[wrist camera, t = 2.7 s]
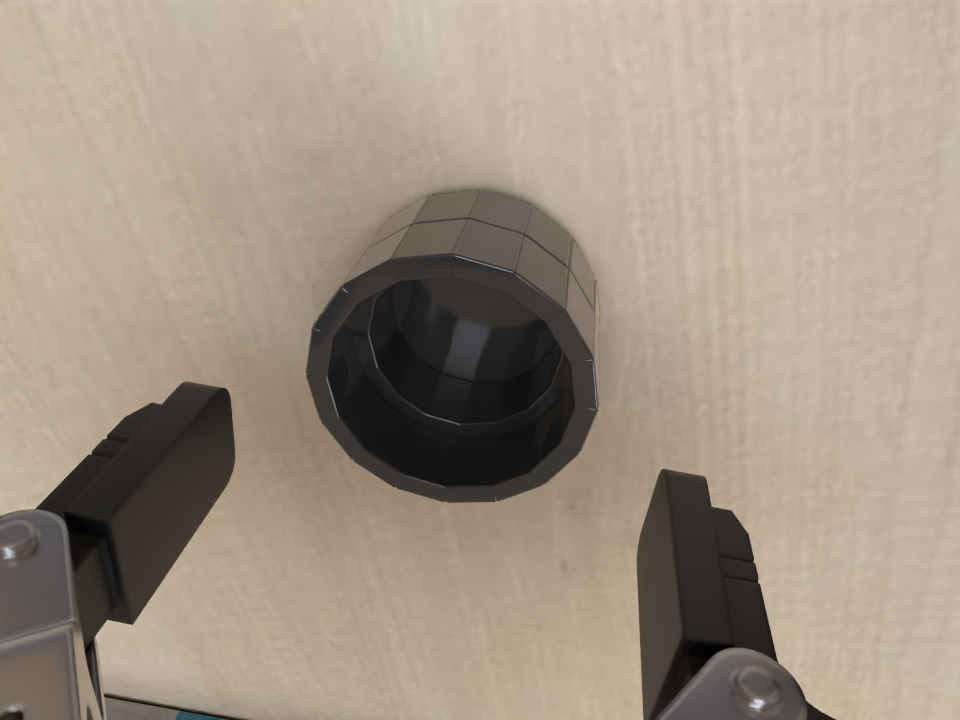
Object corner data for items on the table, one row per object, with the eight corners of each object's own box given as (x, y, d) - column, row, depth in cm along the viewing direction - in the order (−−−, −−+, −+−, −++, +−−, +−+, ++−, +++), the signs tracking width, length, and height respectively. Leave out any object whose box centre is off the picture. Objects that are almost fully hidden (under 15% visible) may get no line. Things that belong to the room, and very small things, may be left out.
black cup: (324, 309, 20) (258, 401, 16) (451, 129, 17) (407, 191, 13) (501, 432, 21) (479, 543, 18) (649, 285, 18) (661, 381, 15)
